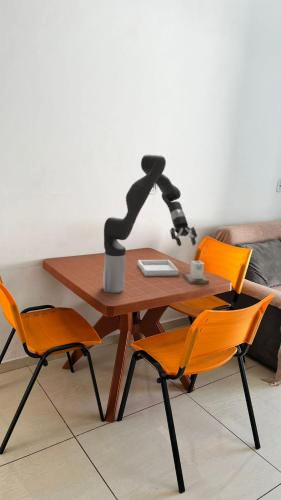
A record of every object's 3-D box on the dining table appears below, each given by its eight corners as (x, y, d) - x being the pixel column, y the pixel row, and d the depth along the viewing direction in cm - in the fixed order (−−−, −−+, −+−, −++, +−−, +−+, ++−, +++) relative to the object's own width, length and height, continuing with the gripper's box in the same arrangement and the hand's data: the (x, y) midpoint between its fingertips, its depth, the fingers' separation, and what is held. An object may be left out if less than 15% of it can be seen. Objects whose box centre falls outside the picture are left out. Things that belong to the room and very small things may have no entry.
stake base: (189, 283, 189) (190, 273, 188) (183, 276, 198) (184, 266, 197) (208, 283, 191) (209, 272, 190) (201, 276, 201) (202, 266, 199)
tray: (145, 276, 196) (145, 270, 195) (137, 265, 212) (137, 260, 212) (178, 275, 200) (178, 270, 199) (168, 265, 217) (168, 259, 216)
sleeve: (193, 279, 190) (195, 264, 188) (189, 275, 196) (191, 260, 194) (203, 279, 192) (205, 264, 189) (198, 275, 197) (200, 260, 195)
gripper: (169, 215, 202) (178, 242, 195) (193, 215, 208) (202, 241, 201) (164, 223, 208) (172, 249, 201) (187, 222, 214) (195, 248, 207)
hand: (187, 245), depth 201 cm, fingers open, 8 cm apart
